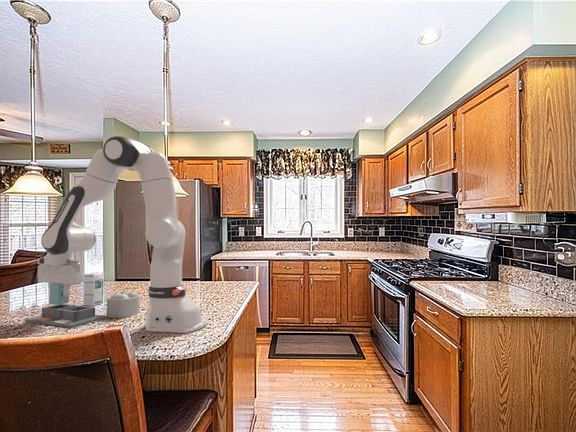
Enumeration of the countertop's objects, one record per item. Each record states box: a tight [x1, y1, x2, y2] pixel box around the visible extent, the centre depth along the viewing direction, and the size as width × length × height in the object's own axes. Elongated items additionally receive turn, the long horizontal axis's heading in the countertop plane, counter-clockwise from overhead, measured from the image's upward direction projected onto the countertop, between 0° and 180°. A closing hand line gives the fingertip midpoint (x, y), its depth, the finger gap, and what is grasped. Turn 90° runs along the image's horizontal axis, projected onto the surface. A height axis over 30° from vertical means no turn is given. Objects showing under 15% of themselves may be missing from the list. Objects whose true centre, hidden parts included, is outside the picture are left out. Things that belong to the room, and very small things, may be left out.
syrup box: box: [83, 271, 104, 307], centre depth 159 cm, size 6×6×14 cm
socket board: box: [24, 303, 106, 329], centre depth 131 cm, size 24×14×4 cm, turn 70°
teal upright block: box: [48, 283, 70, 305], centre depth 134 cm, size 4×4×8 cm
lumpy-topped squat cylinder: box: [106, 291, 141, 319], centre depth 142 cm, size 10×13×9 cm
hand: (59, 295), depth 134 cm, fingers closed on teal upright block, 4 cm apart
